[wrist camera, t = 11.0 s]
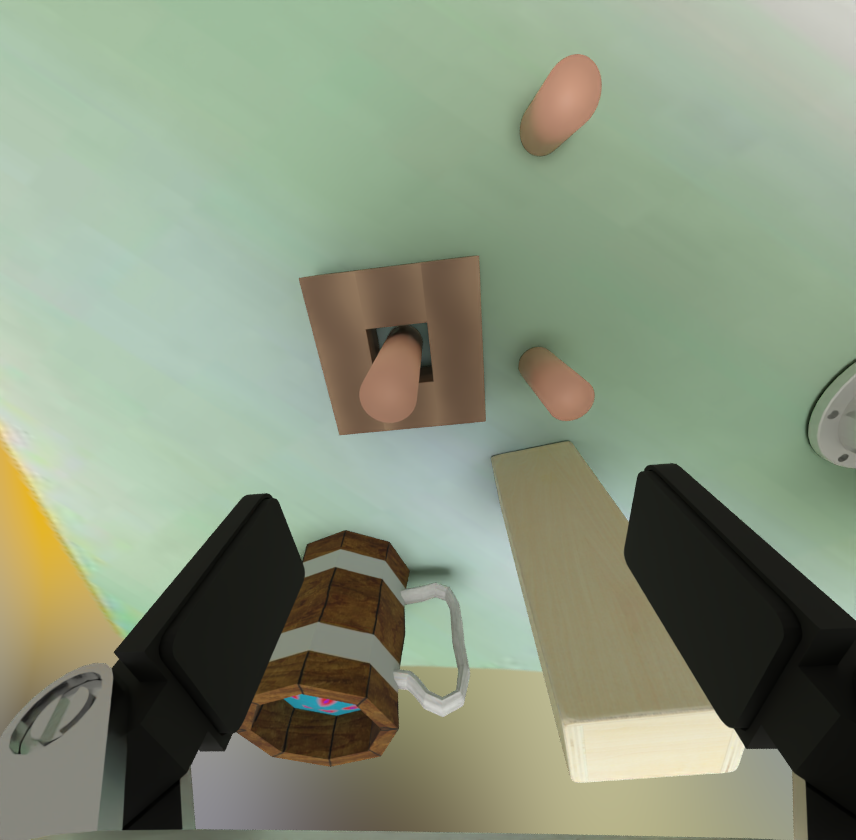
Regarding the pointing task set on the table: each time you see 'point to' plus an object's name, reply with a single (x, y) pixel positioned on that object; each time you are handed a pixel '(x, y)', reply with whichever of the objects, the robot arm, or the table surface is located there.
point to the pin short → (561, 105)
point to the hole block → (393, 306)
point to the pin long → (394, 377)
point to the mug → (346, 657)
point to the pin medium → (556, 384)
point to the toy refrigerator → (601, 630)
